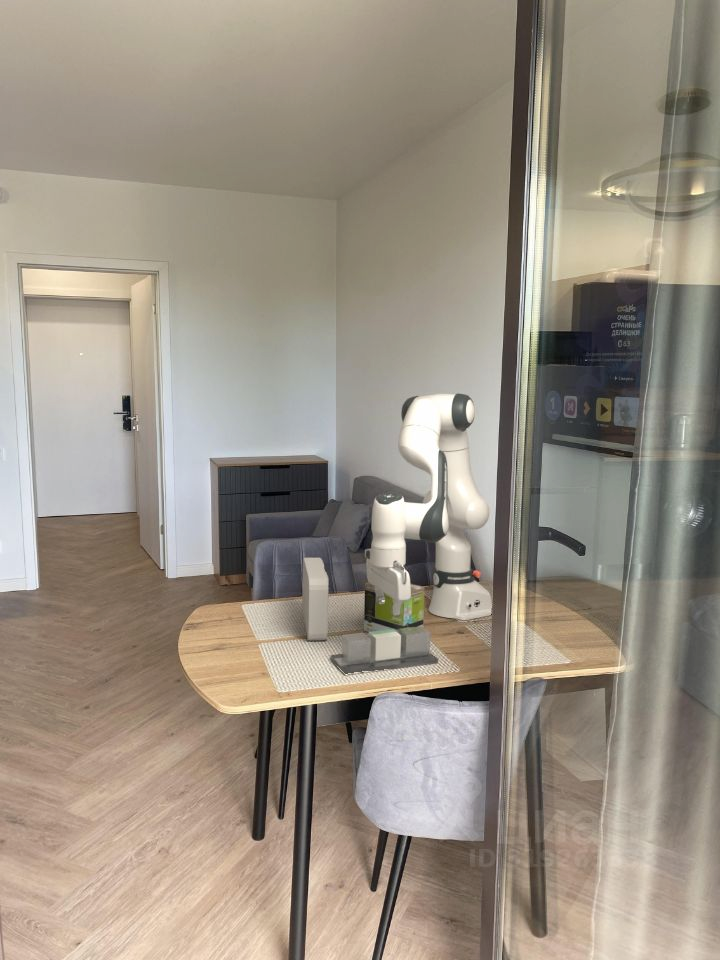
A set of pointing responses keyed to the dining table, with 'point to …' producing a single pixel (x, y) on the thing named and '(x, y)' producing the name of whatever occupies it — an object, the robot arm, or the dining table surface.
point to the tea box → (381, 616)
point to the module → (385, 644)
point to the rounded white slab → (315, 599)
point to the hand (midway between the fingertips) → (388, 608)
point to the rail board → (411, 654)
